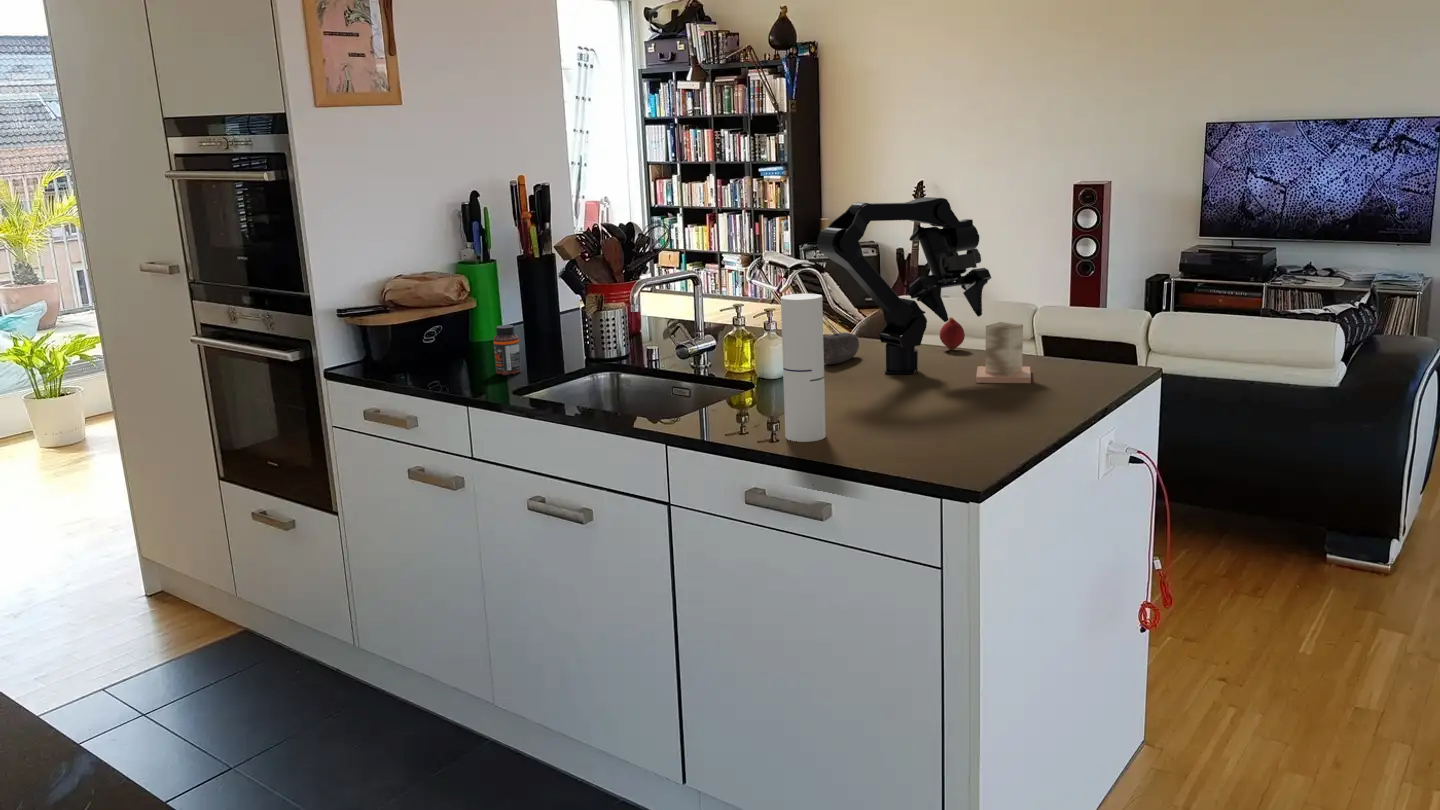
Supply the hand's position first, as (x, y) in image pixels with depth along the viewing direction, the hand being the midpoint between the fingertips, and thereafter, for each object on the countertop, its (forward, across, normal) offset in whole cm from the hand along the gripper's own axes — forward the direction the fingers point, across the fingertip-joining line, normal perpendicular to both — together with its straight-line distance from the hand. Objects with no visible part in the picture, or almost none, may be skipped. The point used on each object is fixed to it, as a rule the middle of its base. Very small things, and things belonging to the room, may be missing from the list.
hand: (963, 318), depth 241 cm
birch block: (+14, +4, -2) cm, 14 cm away
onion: (-1, +15, +25) cm, 29 cm away
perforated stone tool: (-4, -13, +30) cm, 33 cm away
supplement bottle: (-26, -80, +65) cm, 106 cm away
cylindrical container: (+22, -55, -13) cm, 61 cm away
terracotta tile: (+15, +4, -1) cm, 15 cm away
